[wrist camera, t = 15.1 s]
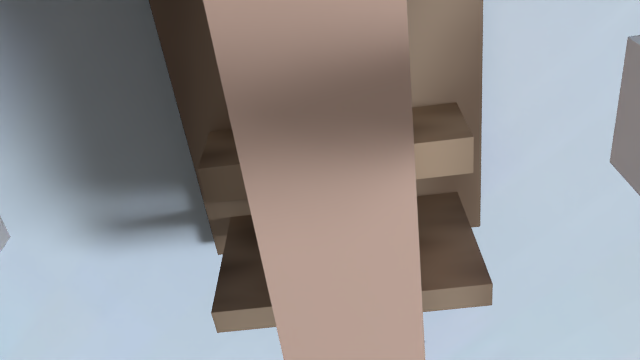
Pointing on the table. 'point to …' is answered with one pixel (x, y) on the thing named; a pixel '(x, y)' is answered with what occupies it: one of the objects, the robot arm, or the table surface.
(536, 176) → the table surface
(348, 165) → the pinkish tan block
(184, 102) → the rack
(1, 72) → the table surface
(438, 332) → the table surface
